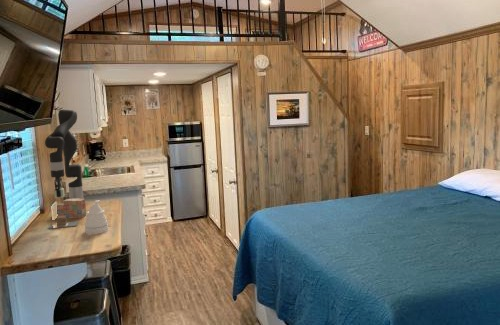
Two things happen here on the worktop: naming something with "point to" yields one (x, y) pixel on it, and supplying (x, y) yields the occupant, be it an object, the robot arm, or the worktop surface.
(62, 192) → the sage cube
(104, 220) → the white tiered cone
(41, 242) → the worktop surface
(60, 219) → the walnut cube
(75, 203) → the stack of blocks
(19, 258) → the worktop surface
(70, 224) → the slate board
